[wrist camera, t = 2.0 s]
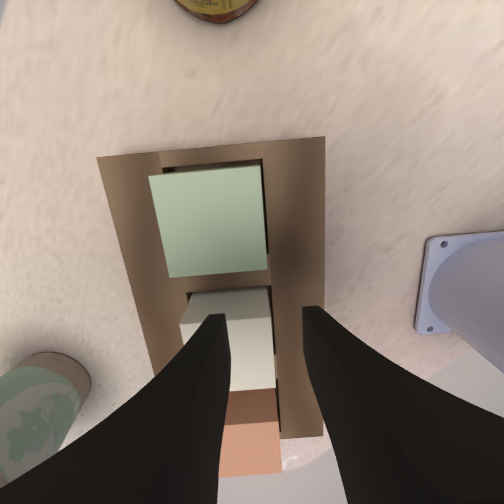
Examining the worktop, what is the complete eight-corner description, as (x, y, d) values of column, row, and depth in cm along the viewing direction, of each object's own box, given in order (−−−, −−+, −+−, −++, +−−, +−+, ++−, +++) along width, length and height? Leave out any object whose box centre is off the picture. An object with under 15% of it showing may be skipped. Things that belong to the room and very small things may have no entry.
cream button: (265, 282, 17) (270, 317, 14) (270, 342, 19) (276, 387, 15) (194, 288, 17) (179, 324, 14) (204, 347, 19) (193, 394, 15)
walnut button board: (311, 140, 16) (325, 136, 14) (314, 403, 24) (323, 436, 21) (122, 157, 17) (96, 157, 14) (182, 413, 24) (173, 447, 21)
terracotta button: (272, 371, 20) (278, 421, 16) (275, 417, 21) (281, 472, 18) (209, 376, 20) (200, 427, 16) (217, 422, 22) (211, 477, 18)
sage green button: (256, 164, 15) (259, 166, 11) (262, 244, 17) (267, 269, 13) (173, 172, 15) (148, 176, 11) (187, 250, 17) (169, 277, 13)
